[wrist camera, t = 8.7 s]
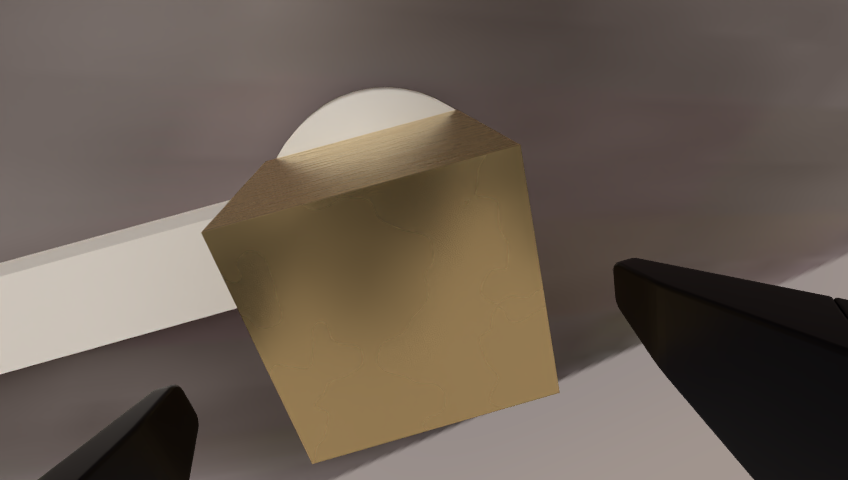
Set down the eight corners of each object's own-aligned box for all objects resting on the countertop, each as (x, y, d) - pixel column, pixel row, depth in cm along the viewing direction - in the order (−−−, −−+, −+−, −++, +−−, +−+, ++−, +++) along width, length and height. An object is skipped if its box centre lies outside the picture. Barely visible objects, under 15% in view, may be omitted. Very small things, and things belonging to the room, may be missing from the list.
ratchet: (471, 59, 15) (525, 61, 10) (509, 265, 18) (566, 345, 13) (-366, 285, 15) (-752, 407, 10) (-177, 459, 18) (-392, 620, 13)
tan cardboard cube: (457, 109, 14) (520, 144, 8) (492, 277, 16) (559, 392, 11) (265, 161, 14) (201, 232, 8) (329, 323, 16) (312, 463, 11)
